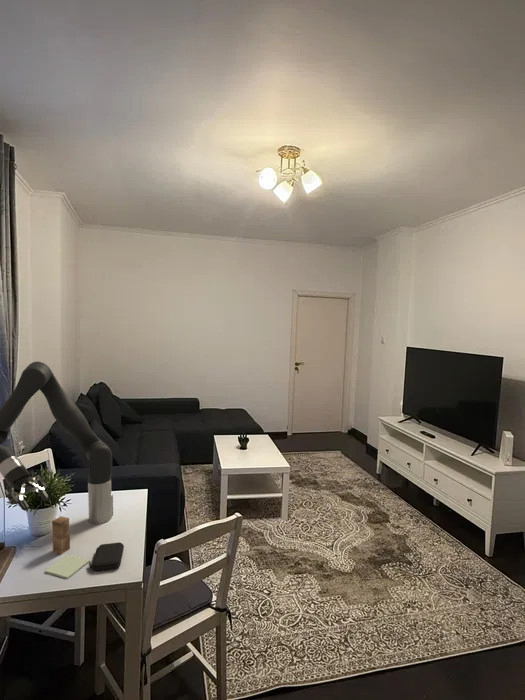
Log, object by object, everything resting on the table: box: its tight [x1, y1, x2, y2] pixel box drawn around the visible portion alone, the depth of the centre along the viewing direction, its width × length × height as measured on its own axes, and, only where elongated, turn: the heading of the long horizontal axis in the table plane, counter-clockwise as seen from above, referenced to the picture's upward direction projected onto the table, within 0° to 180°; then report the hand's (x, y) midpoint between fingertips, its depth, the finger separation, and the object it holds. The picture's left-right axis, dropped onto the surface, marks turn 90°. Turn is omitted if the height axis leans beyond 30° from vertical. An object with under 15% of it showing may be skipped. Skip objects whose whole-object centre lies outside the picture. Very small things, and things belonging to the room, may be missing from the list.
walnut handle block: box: [51, 515, 71, 555], centre depth 149 cm, size 4×4×12 cm
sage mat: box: [44, 554, 91, 580], centre depth 140 cm, size 10×10×1 cm
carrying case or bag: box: [88, 541, 125, 573], centre depth 144 cm, size 11×3×15 cm
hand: (37, 504), depth 152 cm, fingers open, 8 cm apart
